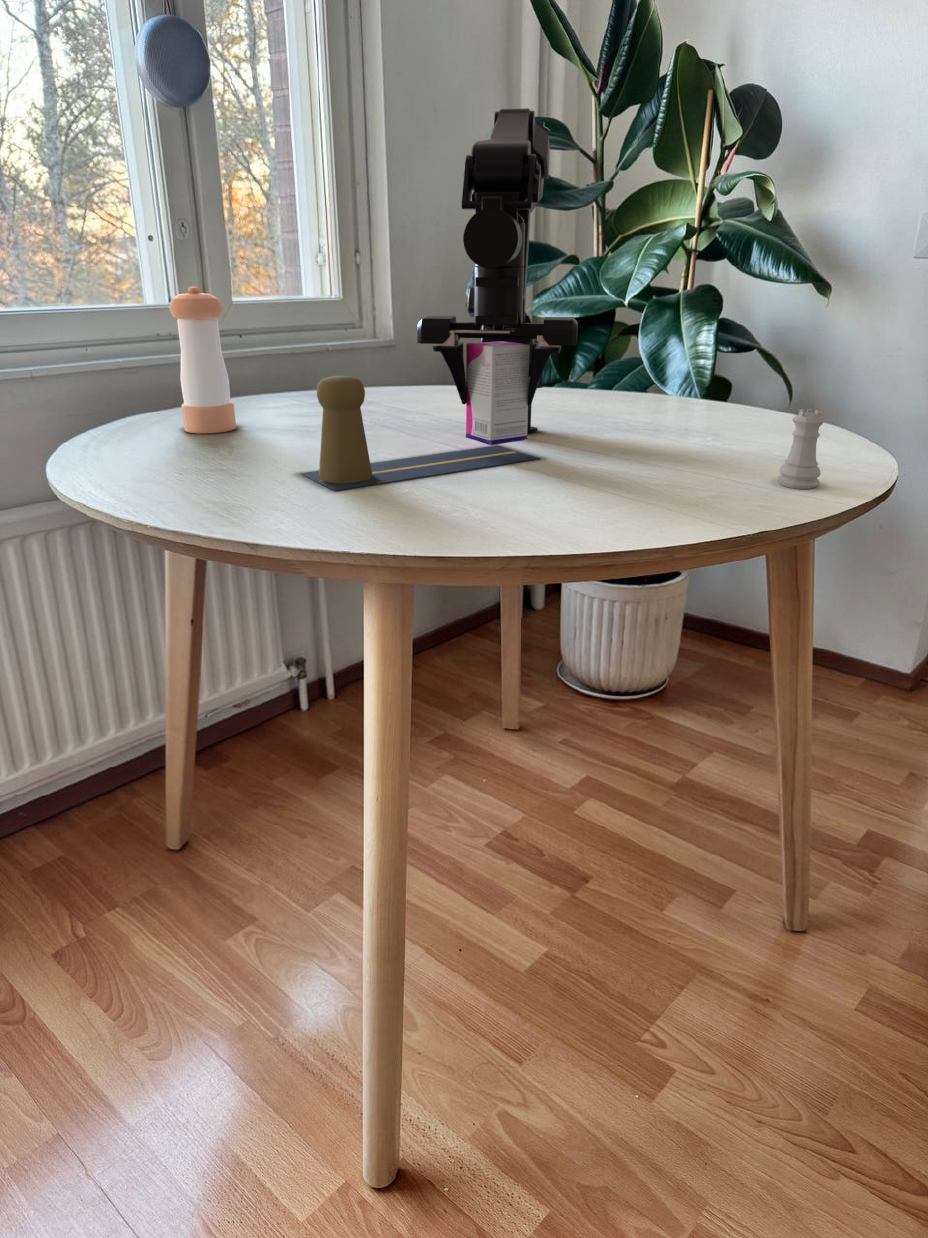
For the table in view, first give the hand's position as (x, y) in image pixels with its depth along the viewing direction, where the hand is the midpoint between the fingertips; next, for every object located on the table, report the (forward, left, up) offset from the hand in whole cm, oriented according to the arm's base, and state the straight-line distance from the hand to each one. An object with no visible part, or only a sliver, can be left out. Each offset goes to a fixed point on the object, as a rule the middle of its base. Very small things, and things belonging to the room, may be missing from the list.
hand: (497, 404), depth 102 cm
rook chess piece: (-19, +30, -7) cm, 36 cm away
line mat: (+11, 0, -6) cm, 12 cm away
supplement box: (0, 0, -4) cm, 4 cm away
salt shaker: (+25, -37, -7) cm, 45 cm away
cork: (+21, 0, -6) cm, 22 cm away
